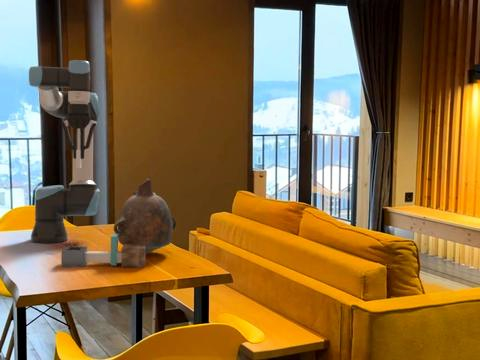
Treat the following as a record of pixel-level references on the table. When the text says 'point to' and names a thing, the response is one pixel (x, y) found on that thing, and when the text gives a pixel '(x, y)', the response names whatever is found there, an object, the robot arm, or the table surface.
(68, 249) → the sleeve
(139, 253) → the socket
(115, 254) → the bolt
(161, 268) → the table surface
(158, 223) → the jug
